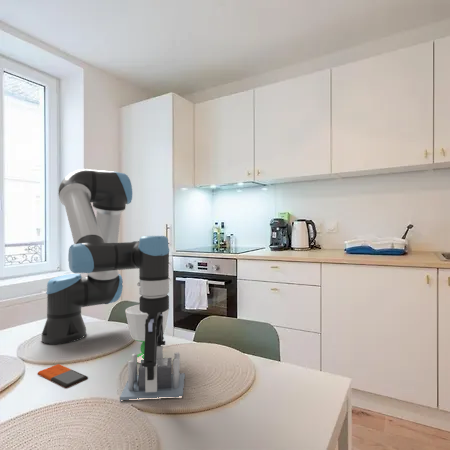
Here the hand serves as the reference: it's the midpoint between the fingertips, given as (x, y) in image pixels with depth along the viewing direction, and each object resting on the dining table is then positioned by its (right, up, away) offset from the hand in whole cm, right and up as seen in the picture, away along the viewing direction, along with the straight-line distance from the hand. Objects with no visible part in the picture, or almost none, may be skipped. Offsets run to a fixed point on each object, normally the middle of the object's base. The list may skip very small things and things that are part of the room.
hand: (154, 380), depth 81 cm
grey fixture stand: (0, -2, 0) cm, 2 cm away
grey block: (0, -1, 0) cm, 1 cm away
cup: (-6, -2, +19) cm, 20 cm away
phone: (-28, -3, +7) cm, 29 cm away
